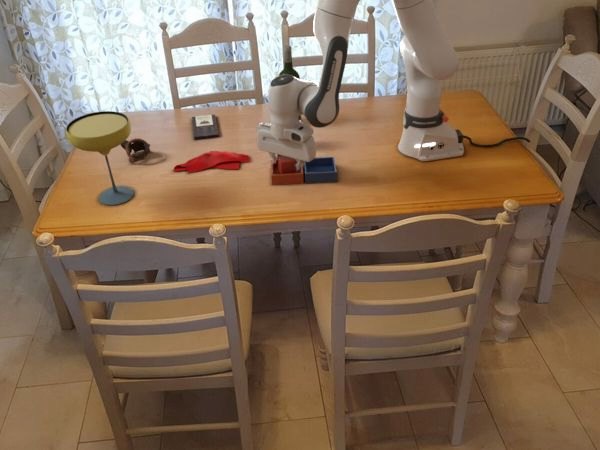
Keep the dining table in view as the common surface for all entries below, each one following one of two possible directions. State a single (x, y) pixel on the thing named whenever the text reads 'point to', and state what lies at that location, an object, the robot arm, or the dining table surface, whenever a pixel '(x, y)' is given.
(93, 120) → the cocktail glass
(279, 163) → the red block
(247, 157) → the cloth
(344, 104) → the dining table surface
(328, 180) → the blue bin
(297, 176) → the terracotta bin
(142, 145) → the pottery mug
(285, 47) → the wine bottle
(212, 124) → the chocolate bar
